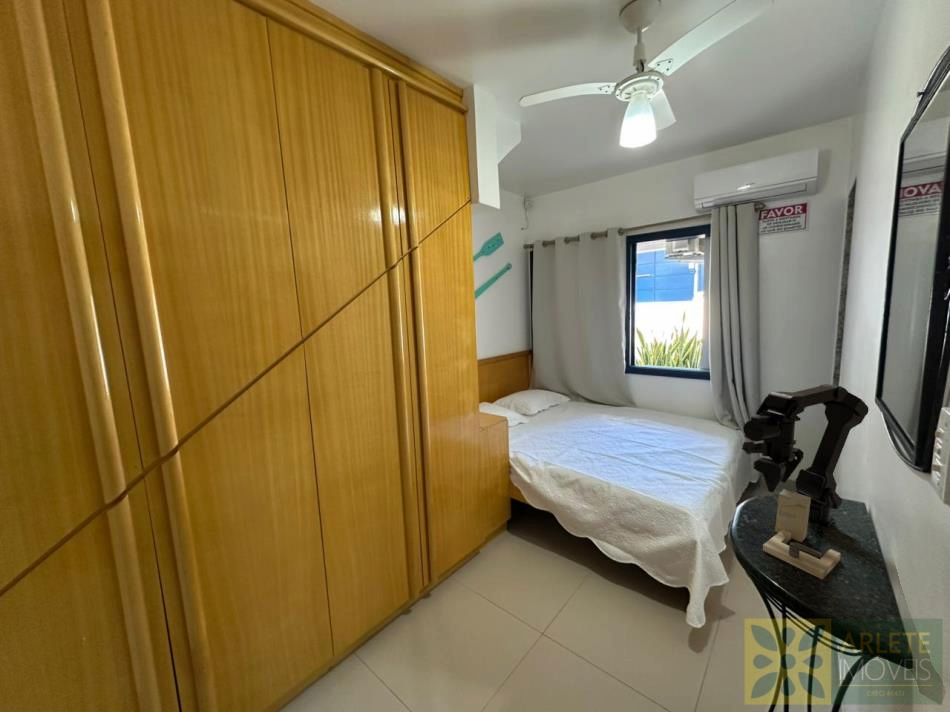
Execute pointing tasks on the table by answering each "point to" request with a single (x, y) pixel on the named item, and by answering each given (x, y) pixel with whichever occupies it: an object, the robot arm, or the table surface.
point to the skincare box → (793, 514)
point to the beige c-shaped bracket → (801, 555)
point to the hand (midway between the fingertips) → (777, 486)
